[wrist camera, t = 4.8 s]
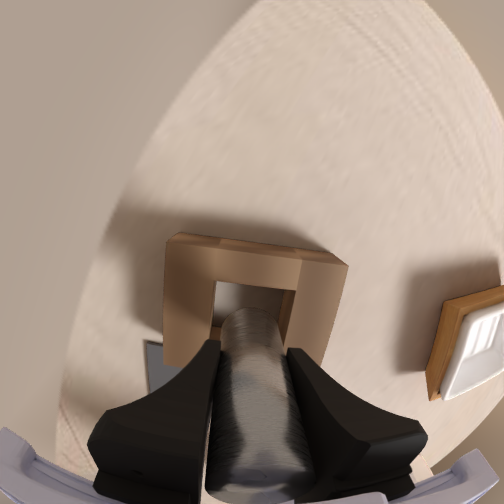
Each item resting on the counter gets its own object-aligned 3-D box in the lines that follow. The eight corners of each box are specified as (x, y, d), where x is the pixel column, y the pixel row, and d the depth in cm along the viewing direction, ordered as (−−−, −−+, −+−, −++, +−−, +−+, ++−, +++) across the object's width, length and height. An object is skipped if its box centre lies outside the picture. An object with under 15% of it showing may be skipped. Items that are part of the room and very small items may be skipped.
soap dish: (506, 274, 19) (537, 288, 14) (486, 350, 21) (510, 370, 17) (433, 291, 19) (470, 316, 14) (412, 381, 21) (436, 411, 16)
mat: (253, 357, 19) (253, 359, 19) (241, 417, 21) (241, 419, 20) (147, 341, 19) (146, 343, 18) (152, 403, 20) (151, 406, 20)
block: (332, 253, 18) (348, 265, 15) (306, 355, 19) (315, 379, 16) (178, 232, 17) (166, 241, 14) (173, 340, 19) (163, 364, 16)
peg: (283, 310, 14) (332, 461, 5) (272, 358, 14) (299, 504, 6) (224, 304, 13) (205, 461, 5) (218, 352, 14) (203, 502, 5)
